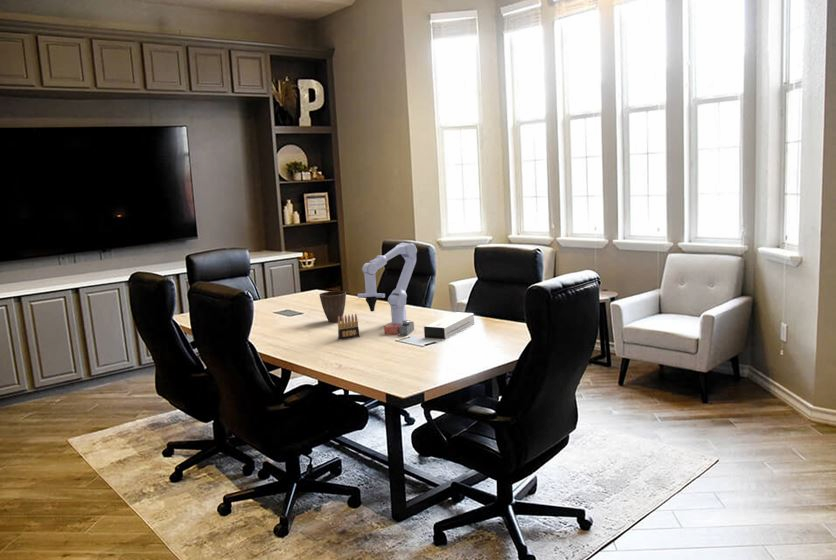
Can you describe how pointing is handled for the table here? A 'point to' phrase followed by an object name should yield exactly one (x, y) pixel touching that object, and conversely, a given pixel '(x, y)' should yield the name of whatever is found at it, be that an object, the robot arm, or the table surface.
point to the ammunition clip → (348, 328)
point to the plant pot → (333, 304)
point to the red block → (392, 328)
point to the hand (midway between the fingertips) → (372, 311)
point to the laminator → (449, 325)
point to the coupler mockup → (406, 328)
